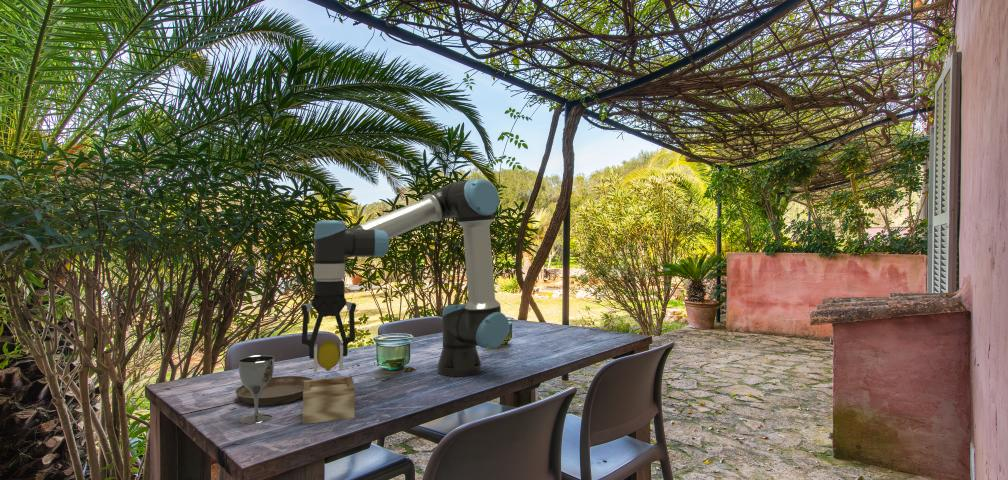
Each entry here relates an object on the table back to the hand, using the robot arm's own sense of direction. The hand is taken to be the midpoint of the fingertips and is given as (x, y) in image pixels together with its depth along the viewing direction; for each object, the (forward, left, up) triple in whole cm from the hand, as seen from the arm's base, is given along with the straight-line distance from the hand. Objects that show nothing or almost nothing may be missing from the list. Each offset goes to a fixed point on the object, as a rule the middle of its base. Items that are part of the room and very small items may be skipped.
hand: (328, 369), depth 127 cm
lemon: (0, 0, 0) cm, 0 cm away
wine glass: (+17, -2, -11) cm, 20 cm away
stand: (0, 0, -11) cm, 11 cm away
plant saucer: (+14, -21, -12) cm, 28 cm away
